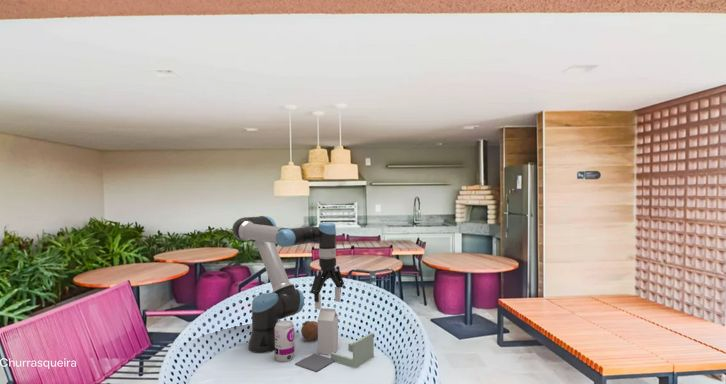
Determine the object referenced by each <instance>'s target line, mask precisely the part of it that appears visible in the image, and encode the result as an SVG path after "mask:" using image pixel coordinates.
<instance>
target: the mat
mask: <svg viewBox="0 0 726 384" xmlns="http://www.w3.org/2000/svg"><path fill="white" fill-rule="evenodd" d="M333 363H336V362H335V360H332V359H331V357H328V356H324V355H323V354H319V353H311V354H310V355H308V356H306V357H305V358H302V359H301V360H299V361H296V362H295V363H294V365H296V366H298V367H300V368H304V369H306V370H309V371H312V372H315V373H318V372H320V371H321V370H323V369H324V368H326V367H328V366H330V365H332V364H333Z"/></svg>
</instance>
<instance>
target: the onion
mask: <svg viewBox="0 0 726 384" xmlns="http://www.w3.org/2000/svg"><path fill="white" fill-rule="evenodd" d="M301 336H302V338H303V339H304V340H306V341H316V340H318V321H315V320H306V321H304V323H303V325H302V326H301Z"/></svg>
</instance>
